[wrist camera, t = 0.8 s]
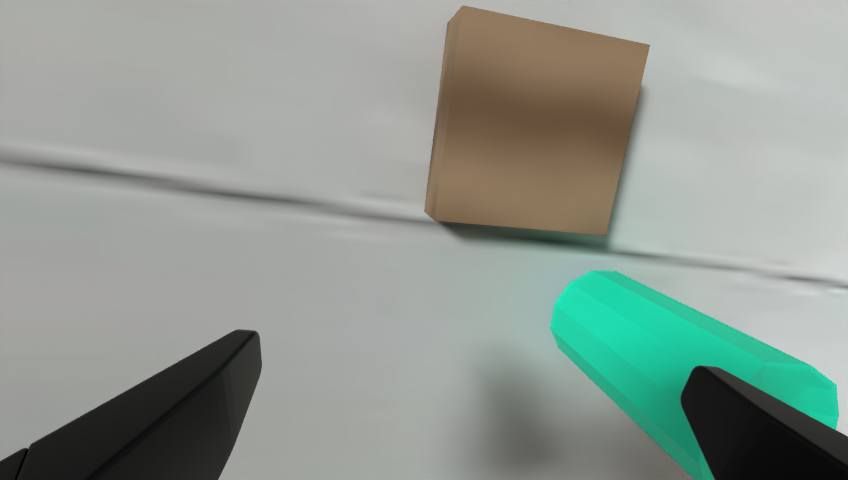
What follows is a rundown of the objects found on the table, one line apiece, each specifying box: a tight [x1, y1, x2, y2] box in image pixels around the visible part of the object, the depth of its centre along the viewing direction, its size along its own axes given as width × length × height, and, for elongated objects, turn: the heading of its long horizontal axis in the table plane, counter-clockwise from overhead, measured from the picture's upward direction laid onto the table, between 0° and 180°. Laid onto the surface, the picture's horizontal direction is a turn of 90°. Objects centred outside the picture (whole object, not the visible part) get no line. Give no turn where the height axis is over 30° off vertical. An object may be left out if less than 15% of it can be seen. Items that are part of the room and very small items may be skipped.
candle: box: [551, 271, 839, 480], centre depth 18 cm, size 6×6×12 cm
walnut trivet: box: [424, 6, 650, 235], centre depth 19 cm, size 9×9×2 cm
